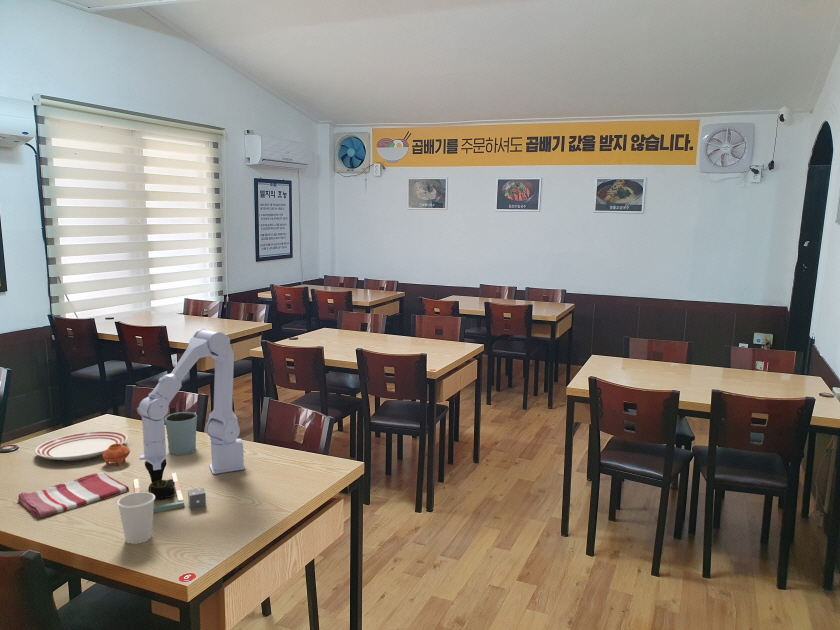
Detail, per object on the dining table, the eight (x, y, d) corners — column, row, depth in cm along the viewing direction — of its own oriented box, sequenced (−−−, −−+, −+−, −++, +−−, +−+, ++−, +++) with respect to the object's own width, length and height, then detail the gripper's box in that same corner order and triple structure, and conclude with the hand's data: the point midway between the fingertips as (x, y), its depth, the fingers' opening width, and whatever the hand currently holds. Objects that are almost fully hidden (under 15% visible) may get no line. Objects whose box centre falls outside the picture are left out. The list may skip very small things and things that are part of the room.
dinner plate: (23, 452, 209) (22, 443, 209) (107, 433, 230) (106, 424, 229) (54, 474, 191) (53, 463, 191) (142, 450, 212) (142, 440, 211)
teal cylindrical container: (187, 443, 218) (185, 410, 217) (204, 449, 212) (203, 415, 211) (160, 451, 210) (158, 417, 208) (178, 458, 204) (176, 422, 203)
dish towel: (16, 502, 172) (15, 493, 172) (104, 477, 190) (103, 469, 189) (39, 521, 161) (38, 511, 161) (130, 493, 179) (129, 484, 178)
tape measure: (175, 499, 174) (174, 486, 173) (148, 502, 171) (147, 489, 171) (175, 489, 180) (174, 477, 179) (149, 493, 177) (148, 480, 177)
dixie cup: (149, 526, 158) (147, 488, 156) (162, 538, 152) (160, 499, 150) (114, 537, 152) (112, 498, 151) (126, 550, 146) (123, 509, 145)
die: (204, 501, 173) (203, 487, 172) (206, 507, 169) (205, 493, 168) (188, 504, 171) (187, 490, 170) (190, 510, 167) (189, 495, 167)
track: (175, 476, 189) (175, 472, 189) (184, 507, 169) (184, 502, 169) (133, 483, 184) (133, 479, 184) (137, 515, 164) (136, 511, 163)
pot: (136, 461, 200) (130, 443, 198) (112, 473, 195) (105, 455, 193) (127, 454, 206) (121, 436, 204) (102, 466, 201) (96, 447, 198)
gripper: (137, 433, 182) (140, 478, 183) (140, 449, 169) (142, 497, 170) (164, 430, 185) (166, 474, 186) (168, 446, 172) (170, 493, 174)
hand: (156, 485), depth 179 cm, fingers closed
